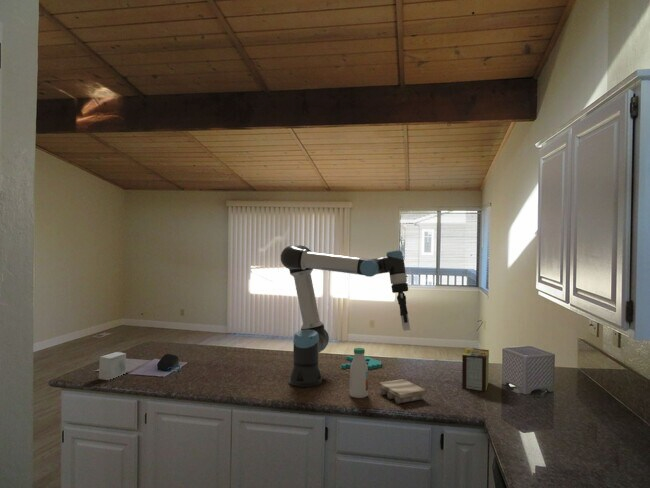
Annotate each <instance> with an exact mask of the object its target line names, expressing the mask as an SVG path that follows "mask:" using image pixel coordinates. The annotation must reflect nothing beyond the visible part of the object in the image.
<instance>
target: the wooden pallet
mask: <svg viewBox="0 0 650 488" xmlns="http://www.w3.org/2000/svg"><path fill="white" fill-rule="evenodd" d="M378 387H379V388H380V389H379V393H380V395H381V396H384V395H386V396H387V398H388V400H394V402H395V404H397V405H399V404H402V403H403V404H405V403H409V402H416V401H419V400H420V401H421V400H425V397H426V396H425V395H426V394H427V389H425V388H423V387H420V386H419V385H416V384H415V383H412V382H410V381H408V380H406V379H404V378H401V379H395V380H388V381H381V382H380V381H379V382H378Z"/></svg>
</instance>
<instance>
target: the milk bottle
mask: <svg viewBox="0 0 650 488" xmlns="http://www.w3.org/2000/svg"><path fill="white" fill-rule="evenodd" d="M365 353H366V350H365V348H364V347H355V348H354V349H353V354H354V356H353V357H354V359H353V361H351V362H350V364H351V367H350V368H349V395H350V397H352V398H354V399H363V398H366V397H368V395H369V369H368V367H367V363H366V361H365V358H364V357H365Z"/></svg>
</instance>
